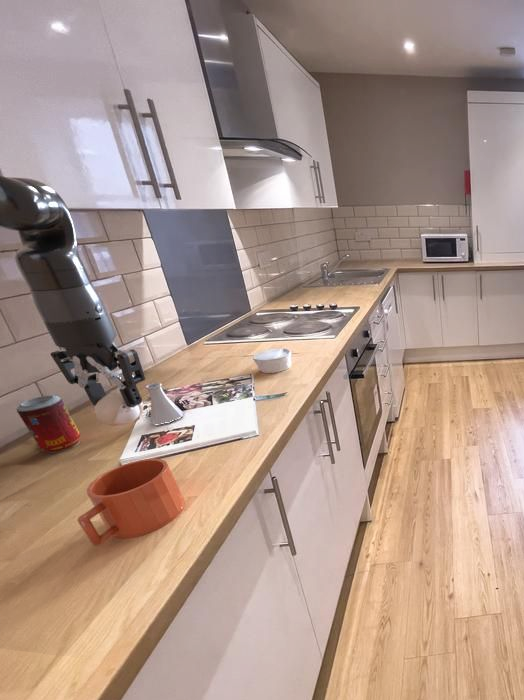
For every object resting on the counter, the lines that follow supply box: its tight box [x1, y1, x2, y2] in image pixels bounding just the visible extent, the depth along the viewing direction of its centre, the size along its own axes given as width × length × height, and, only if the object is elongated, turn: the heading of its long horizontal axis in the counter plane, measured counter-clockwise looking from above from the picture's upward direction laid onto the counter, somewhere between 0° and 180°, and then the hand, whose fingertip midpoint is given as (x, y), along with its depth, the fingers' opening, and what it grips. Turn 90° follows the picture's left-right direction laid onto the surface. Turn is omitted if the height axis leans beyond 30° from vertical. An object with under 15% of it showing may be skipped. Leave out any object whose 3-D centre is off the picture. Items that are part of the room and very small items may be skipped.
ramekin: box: [252, 347, 292, 374], centre depth 138 cm, size 11×11×5 cm
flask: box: [145, 382, 184, 424], centre depth 106 cm, size 7×7×10 cm
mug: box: [77, 458, 186, 547], centre depth 72 cm, size 14×11×9 cm
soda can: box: [16, 394, 81, 454], centre depth 94 cm, size 7×7×12 cm
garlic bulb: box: [94, 378, 145, 426], centre depth 74 cm, size 7×6×8 cm
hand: (118, 404), depth 74 cm, fingers closed on garlic bulb, 6 cm apart
